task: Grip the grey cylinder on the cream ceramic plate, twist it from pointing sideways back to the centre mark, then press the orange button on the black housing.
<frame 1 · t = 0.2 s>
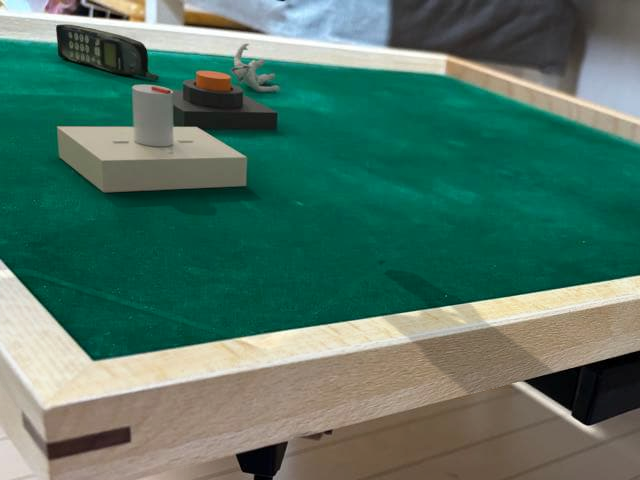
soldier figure: (252, 88, 130), on the table
button box: (213, 119, 110), on the table
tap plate: (154, 171, 88), on the table
button: (213, 82, 108), point 4 cm above the table, slide at 0.1 cm
mobile phone: (108, 71, 122), on the table
grey cylinder: (153, 114, 85), point 6 cm above the table, hinge at -60.0°
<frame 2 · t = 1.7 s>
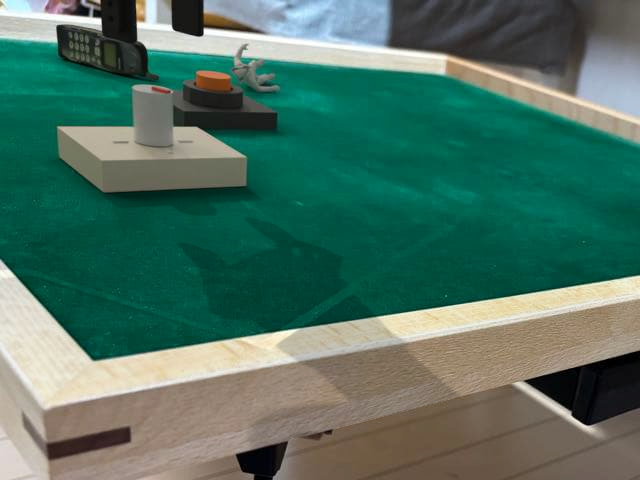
hand: (155, 36, 82), 13 cm above the table, tool pointing down, fingers open, 9 cm apart
nothing on the table moved.
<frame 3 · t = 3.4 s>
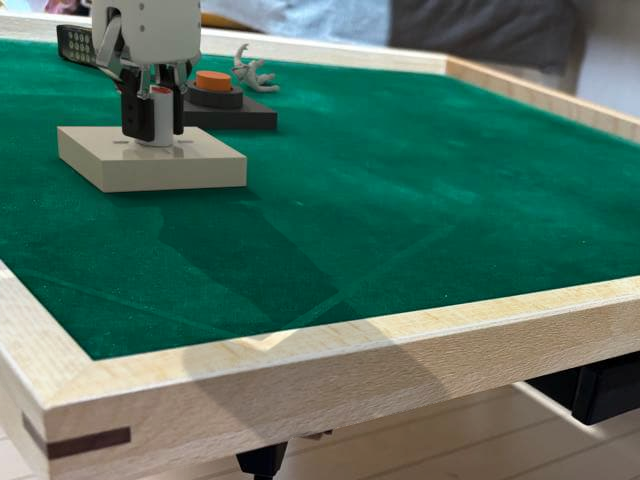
hand: (153, 133, 86), 4 cm above the table, tool pointing down, fingers closed on grey cylinder, 3 cm apart
grey cylinder: (153, 114, 85), point 6 cm above the table, hinge at -59.9°, touching gripper
everything else where it was.
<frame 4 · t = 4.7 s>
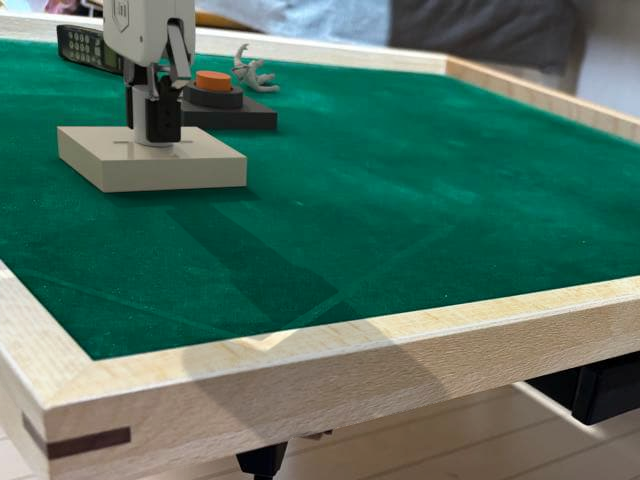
hand: (153, 133, 86), 4 cm above the table, tool pointing down, fingers closed on grey cylinder, 3 cm apart
grey cylinder: (153, 114, 85), point 6 cm above the table, hinge at 0.4°, touching gripper
everything else where it was.
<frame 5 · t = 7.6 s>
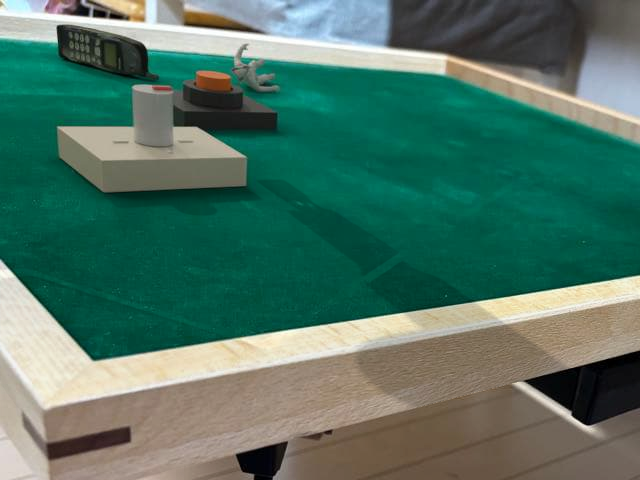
grey cylinder: (153, 114, 85), point 6 cm above the table, hinge at 0.3°
everything else where it was.
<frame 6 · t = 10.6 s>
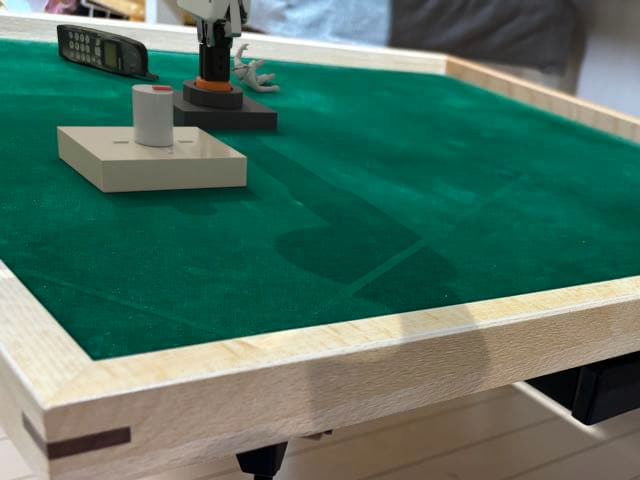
hand: (214, 79, 108), 5 cm above the table, tool pointing down, fingers closed
button: (213, 87, 108), point 4 cm above the table, slide at -0.5 cm, touching gripper
everything else where it was.
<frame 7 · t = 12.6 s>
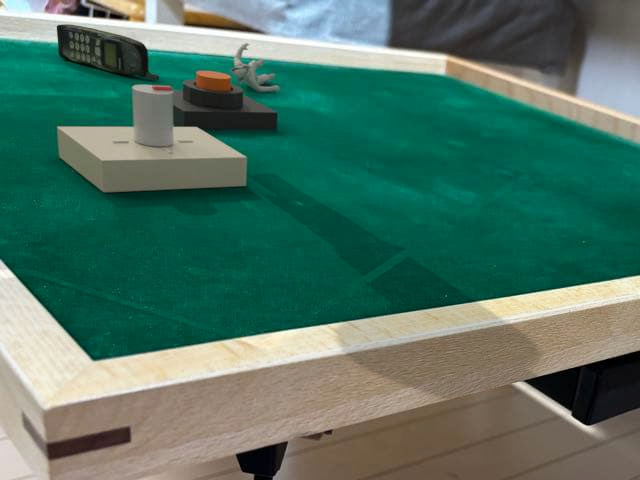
button: (213, 82, 108), point 4 cm above the table, slide at 0.1 cm
everything else where it was.
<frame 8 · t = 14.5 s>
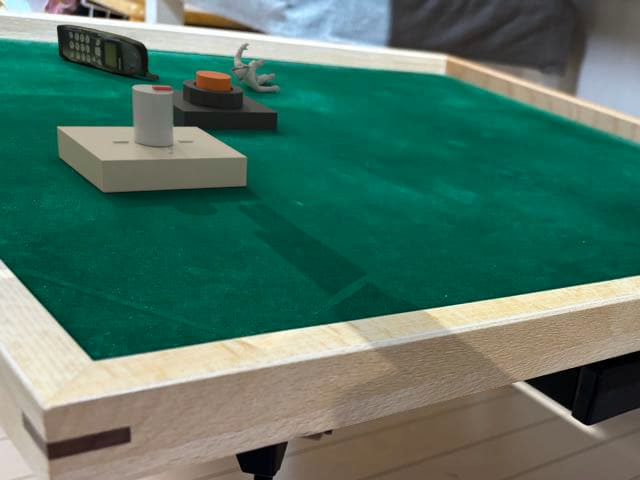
nothing on the table moved.
at the end: grey cylinder at +0° (first picture: -60°); button pushed in 1.1 cm at the most during the clip, back to where it started at the end; button slide at 0.1 cm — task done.
